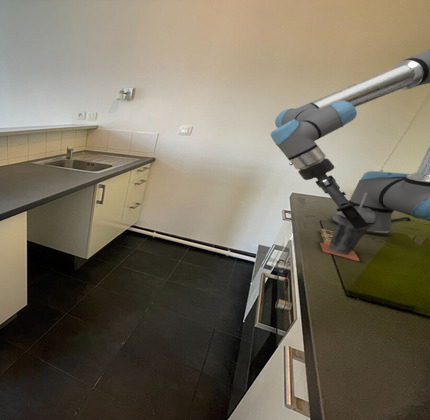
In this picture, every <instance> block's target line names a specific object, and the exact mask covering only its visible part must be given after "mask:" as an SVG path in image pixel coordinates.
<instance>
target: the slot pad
mask: <svg viewBox="0 0 430 420" xmlns="http://www.w3.org/2000/svg"><path fill="white" fill-rule="evenodd" d="M319 244H320V247H321V251H322V252H323V253H325V254H331V255H333V256H338V257H341V258H344V259H349V260H352V261H356V262H360V258H359V257H358V255H357V253H356V252H355V251H354V250H352V251H351V252H350V253H349V254H348V255H344V254H339V253H336V252H333V251H331V250H330V249H329V247H330V245H328V244H324V242H320V243H319Z"/></svg>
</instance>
